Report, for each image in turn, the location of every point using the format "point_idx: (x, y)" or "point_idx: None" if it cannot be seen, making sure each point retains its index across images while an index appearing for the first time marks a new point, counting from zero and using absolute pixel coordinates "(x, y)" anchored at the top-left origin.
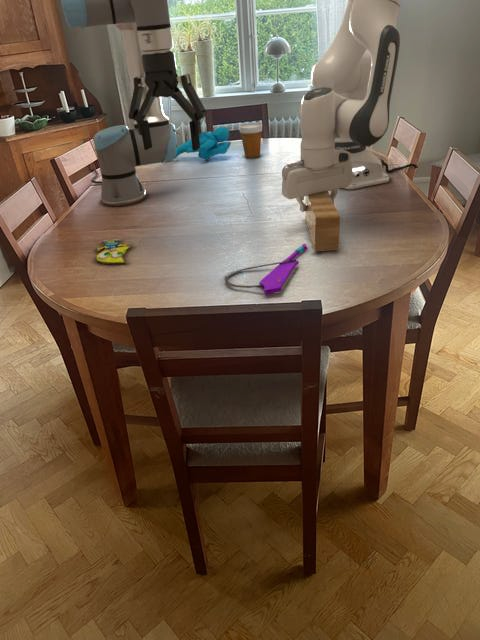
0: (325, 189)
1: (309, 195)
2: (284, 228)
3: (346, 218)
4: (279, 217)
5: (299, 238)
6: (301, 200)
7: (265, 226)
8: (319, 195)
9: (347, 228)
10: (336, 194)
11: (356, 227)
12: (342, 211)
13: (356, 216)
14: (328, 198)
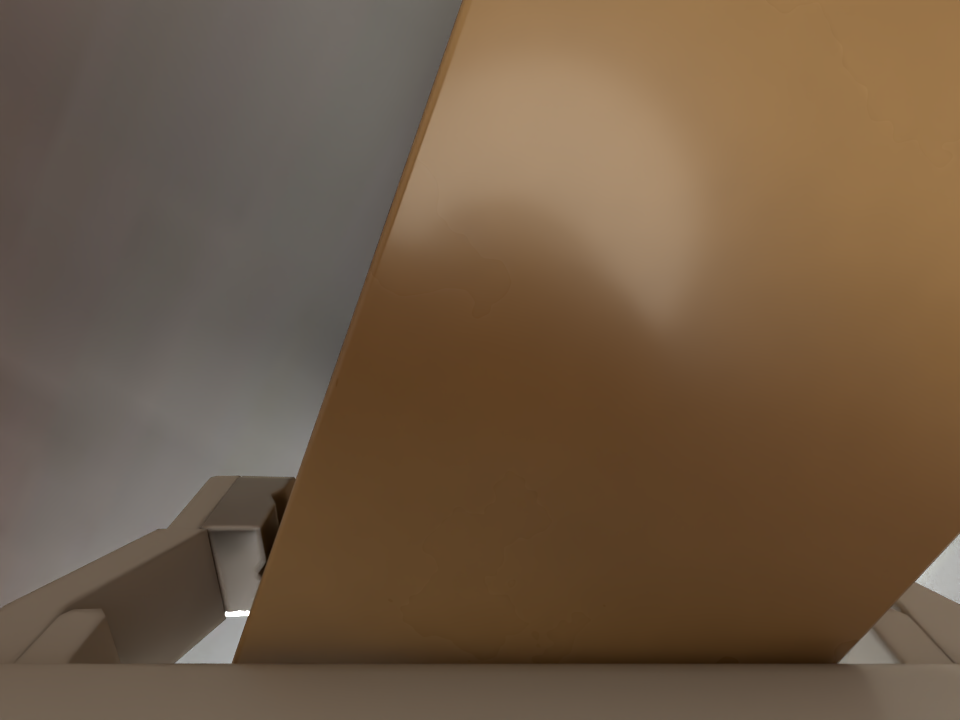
0: (308, 709)
1: (802, 654)
2: None
3: (147, 351)
4: None
5: None
6: (918, 609)
7: None
8: (592, 535)
9: (253, 82)
10: (70, 576)
11: (137, 44)
12: (118, 519)
13: (23, 341)
14: (535, 126)
